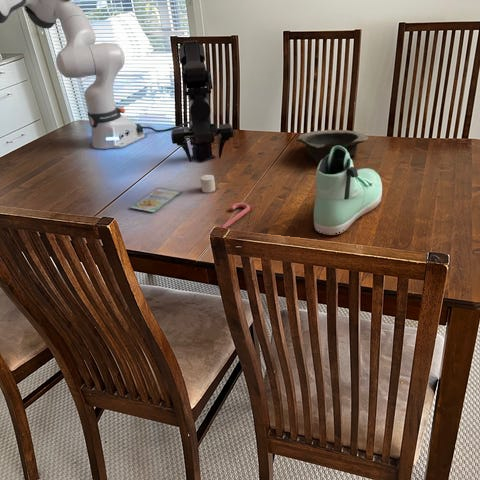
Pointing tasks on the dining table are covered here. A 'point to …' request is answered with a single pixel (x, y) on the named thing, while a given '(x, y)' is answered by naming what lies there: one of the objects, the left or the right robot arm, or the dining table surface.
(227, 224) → the candy cane
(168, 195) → the baking ingredient package
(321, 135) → the stone bowl
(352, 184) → the sneaker
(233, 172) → the dining table surface
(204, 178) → the canister
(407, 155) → the dining table surface
